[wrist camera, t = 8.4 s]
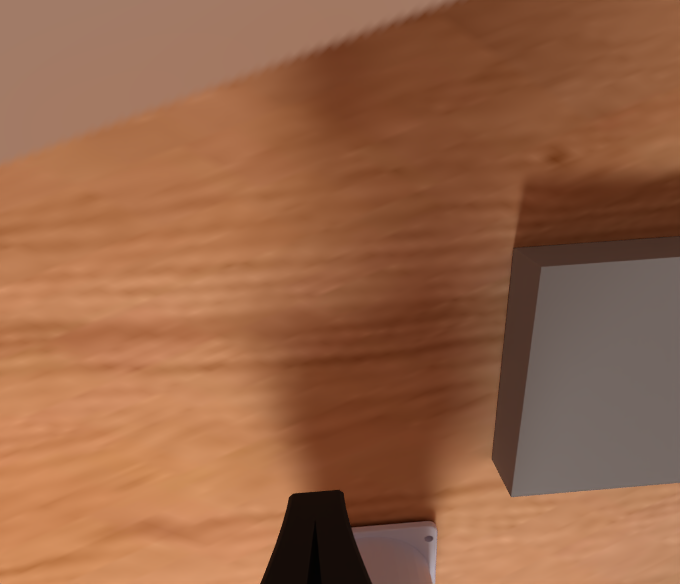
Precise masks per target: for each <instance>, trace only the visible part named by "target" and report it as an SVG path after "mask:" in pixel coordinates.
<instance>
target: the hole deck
mask: <svg viewBox="0 0 680 584" xmlns="http://www.w3.org/2000/svg"><path fill="white" fill-rule="evenodd" d="M492 460H493V462H494V464H495V466H496V468H497V470H498V472H499V474H500V476H501V478H502V480H503V482H504V484H505V486H506V488H507V490H508V492H509V494H510V496H511V497H518V496H530V495H542V494H553V493H565V492H577V491H588V490H600V489H612V488H623V487H635V486H647V485H658V484H670V483H680V236H675V237H661V238H647V239H633V240H619V241H605V242H591V243H577V244H563V245H549V246H535V247H521V248H514V251H513V260H512V270H511V279H510V289H509V299H508V308H507V318H506V328H505V337H504V347H503V357H502V366H501V376H500V386H499V395H498V405H497V415H496V424H495V434H494V444H493V453H492Z"/></svg>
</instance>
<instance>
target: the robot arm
mask: <svg viewBox="0 0 680 584" xmlns="http://www.w3.org/2000/svg"><path fill="white" fill-rule="evenodd" d="M436 553H437V528H436V524H435V523H434V522H432V521H421V522H410V523H398V524H387V525H375V526H363V527H352V528H351V525H350V522H349V518H348V514H347V510H346V506H345V500H344V493H343V492H341V491H340V490H333V491H320V492H308V493H295V494H292V495H291V496H290V497H289V500H288V505H287V509H286V513H285V517H284V520H283V524H282V527H281V530H280V533H279V536H278V539H277V542H276V545H275V548H274V550H273V553H272V555H271V558H270V561H269V563H268V566H267V568H266V571H265V574H264V576H263V579H262V581H261V583H260V584H435V576H436Z"/></svg>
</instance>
